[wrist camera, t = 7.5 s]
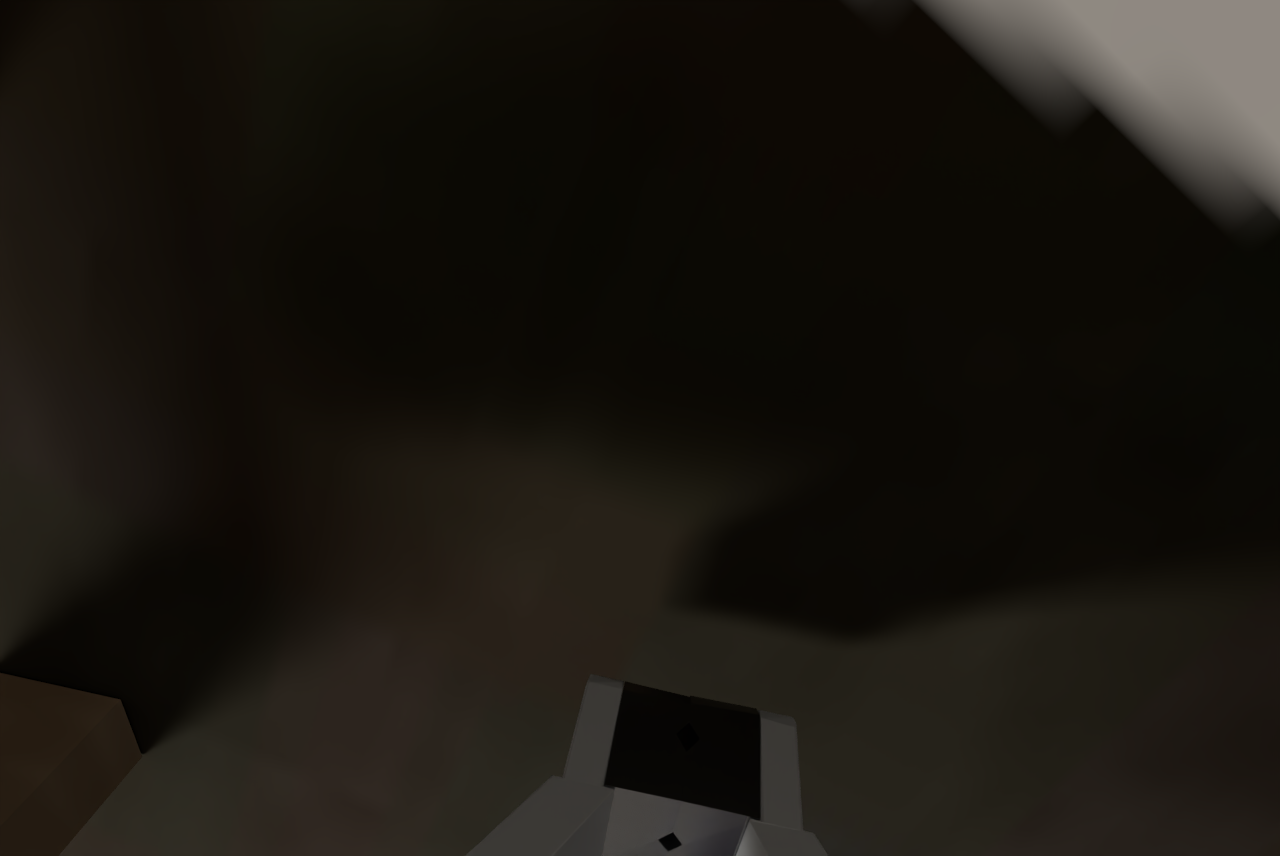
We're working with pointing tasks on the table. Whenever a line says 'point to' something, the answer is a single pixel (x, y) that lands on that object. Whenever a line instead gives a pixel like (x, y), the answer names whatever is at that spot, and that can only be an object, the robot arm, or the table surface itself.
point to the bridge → (56, 762)
